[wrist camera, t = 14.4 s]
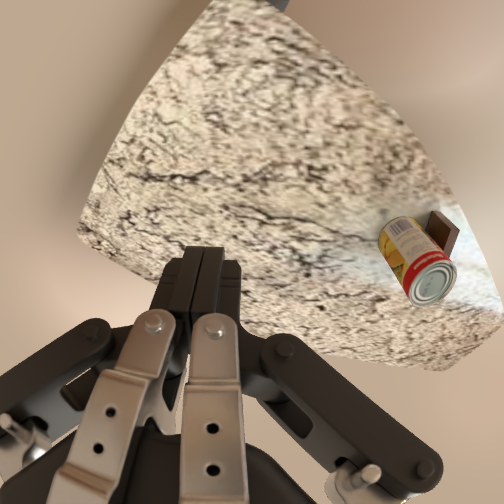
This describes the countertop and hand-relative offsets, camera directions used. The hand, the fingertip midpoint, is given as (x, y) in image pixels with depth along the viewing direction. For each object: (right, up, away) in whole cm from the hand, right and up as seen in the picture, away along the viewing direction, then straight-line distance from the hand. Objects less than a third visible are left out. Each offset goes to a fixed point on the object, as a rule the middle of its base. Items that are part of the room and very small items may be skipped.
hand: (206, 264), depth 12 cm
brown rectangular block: (+31, +3, +30) cm, 43 cm away
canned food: (+25, +3, +30) cm, 40 cm away
